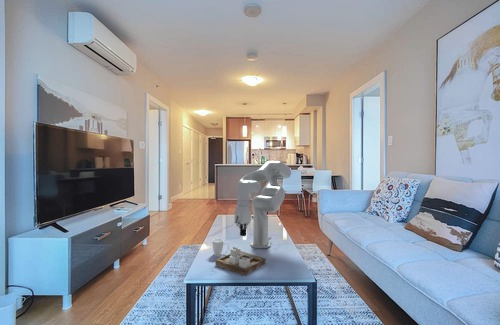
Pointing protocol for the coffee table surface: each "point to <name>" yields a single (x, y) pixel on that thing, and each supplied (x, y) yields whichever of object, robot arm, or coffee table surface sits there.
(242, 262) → the tab
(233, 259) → the tab middle
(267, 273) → the coffee table surface
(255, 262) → the switch board
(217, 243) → the cup
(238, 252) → the tab
